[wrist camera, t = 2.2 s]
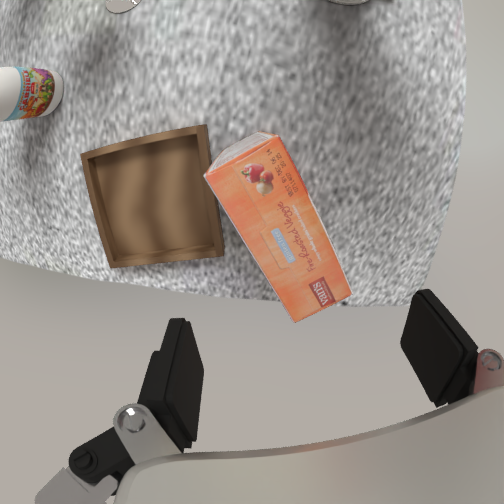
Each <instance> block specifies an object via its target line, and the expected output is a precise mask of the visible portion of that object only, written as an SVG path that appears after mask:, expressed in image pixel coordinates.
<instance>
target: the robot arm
mask: <svg viewBox="0 0 504 504" xmlns="http://www.w3.org/2000/svg"><path fill="white" fill-rule="evenodd" d="M328 1H332V2H335V3H339V4H344V5H356V4H361V3H364V2H366V1H368V0H328ZM400 344H401V348H402V350H403V351H404V353H405V355H406V357H407V358H408V360H409V362H410V364H411V365H412V367H413V369H414V371H415V373H416V375H417V377H418V378H419V380H420V382H421V384H422V386H423V388H424V390H425V392H426V394H427V395H428V397H429V399H430V401H431V402H434V404H435V406H436V407H439V406H442V405H444V404H446V403H448V405H447V406H444V407H442V408H439V409H437V410H434V411H432V412H429V413H426V414H424V415H421V416H418V417H415V418H412V419H409V420H406V421H403V422H400V423H397V424H394V425H390V426H387V427H384V428H380V429H377V430H373V431H369V432H365V433H361V434H358V435H353V436H348V437H344V438H339V439H334V440H329V441H323V442H318V443H312V444H305V445H298V446H291V447H283V448H273V449H260V450H248V451H227V452H196V453H195V452H194V453H183V452H184V448H191V446H192V441H194V442H195V441H196V440H197V431H198V421H199V412H200V402H201V394H202V385H203V376H204V368H203V364H202V361H201V358H200V355H199V351H198V347H197V344H196V341H195V337H194V334H193V330H192V327H191V323H190V322H189V321H186V320H185V318H171V319H170V320H169V323H168V326H167V329H166V332H165V336H164V339H163V343H162V345H161V349H160V351H154V352H153V353H152V356H151V359H150V362H149V365H148V369H147V372H146V375H145V378H144V382H143V385H142V388H141V392H140V395H139V399H138V402H137V404H128V405H126V406H123V407H122V408H121V409H119V410H118V411H117V413H116V414H115V416H114V419H113V425H114V427H112V428H110V429H109V430H107V431H105V432H104V433H102V434H100V435H99V436H97V437H95V438H93V439H92V440H90V441H88V442H86V443H84V444H83V445H81V446H79V447H77V448H76V449H75V450H73V452H72V453H71V454H70V457H69V466H68V467H67V469H65V468H62V469H61V470H60V471H59V472H58V473H57V474H56V475H55V476H54V477H53V478H52V479H51V480H50V481H49V482H48V483H47V484H46V485H45V486H44V487H43V488H42V489H41V490H40V491H39V492H38V494H37V495H36V497H35V504H106V502H105V501H106V500H107V499H108V498H109V497H110V496H114V495H116V496H115V500H114V504H504V360H503V357H502V356H501V355H500V354H499V353H498V352H497V351H495V350H492V349H484V350H482V351H481V352H480V353H478V352H477V349H478V346H477V345H476V344H475V342H474V341H473V340H472V339H471V337H470V336H469V335H468V334H467V332H466V331H465V330H464V329H463V327H462V326H461V325H460V324H459V322H458V321H457V320H456V319H455V318H454V316H453V315H452V314H451V313H450V312H449V310H448V309H447V308H446V307H445V306H444V305H443V304H442V303H441V301H440V300H439V299H438V298H437V297H436V296H435V295H434V293H433V292H432V291H431V290H430V289H424V290H419V291H417V292H416V293H415V295H413V297H412V301H411V305H410V309H409V313H408V316H407V320H406V324H405V327H404V331H403V334H402V337H401V341H400Z"/></svg>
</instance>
